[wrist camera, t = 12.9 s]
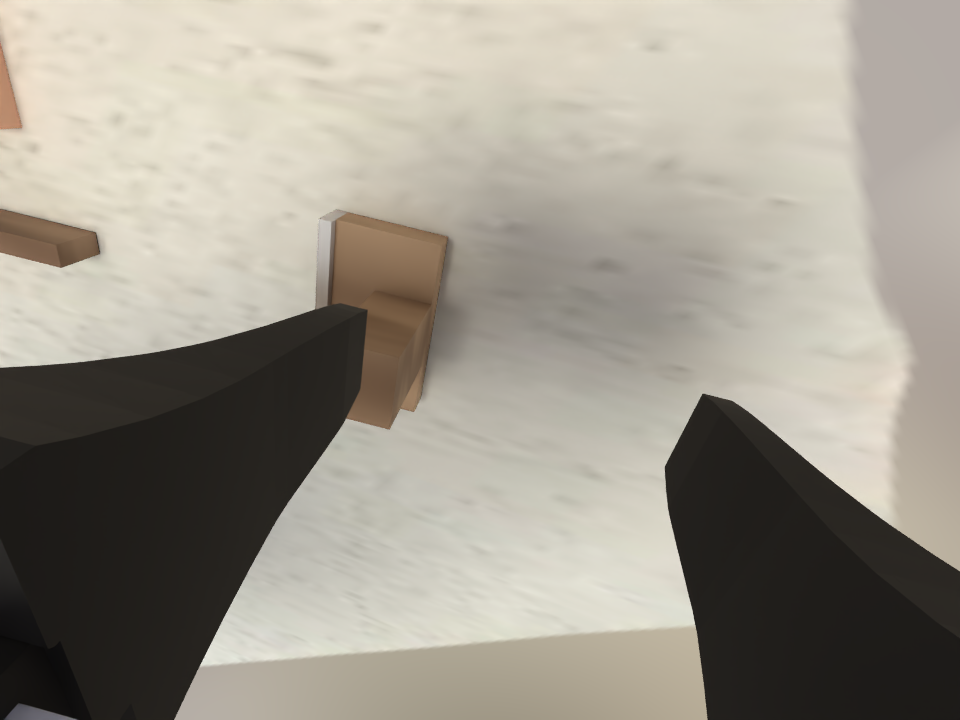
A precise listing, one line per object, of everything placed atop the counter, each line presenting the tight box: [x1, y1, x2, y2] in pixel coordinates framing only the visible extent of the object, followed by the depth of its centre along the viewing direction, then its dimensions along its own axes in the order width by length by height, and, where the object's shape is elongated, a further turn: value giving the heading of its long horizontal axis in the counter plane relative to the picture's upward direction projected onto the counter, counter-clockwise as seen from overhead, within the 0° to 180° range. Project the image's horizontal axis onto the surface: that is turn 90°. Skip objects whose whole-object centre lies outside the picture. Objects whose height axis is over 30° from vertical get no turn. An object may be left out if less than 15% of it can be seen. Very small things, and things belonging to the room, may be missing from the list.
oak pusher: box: [315, 210, 448, 429], centre depth 20 cm, size 8×5×6 cm, turn 168°
